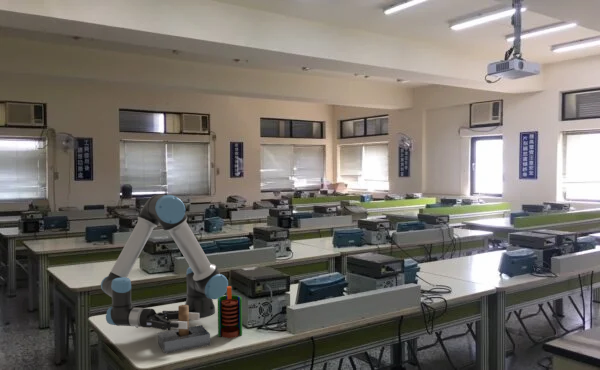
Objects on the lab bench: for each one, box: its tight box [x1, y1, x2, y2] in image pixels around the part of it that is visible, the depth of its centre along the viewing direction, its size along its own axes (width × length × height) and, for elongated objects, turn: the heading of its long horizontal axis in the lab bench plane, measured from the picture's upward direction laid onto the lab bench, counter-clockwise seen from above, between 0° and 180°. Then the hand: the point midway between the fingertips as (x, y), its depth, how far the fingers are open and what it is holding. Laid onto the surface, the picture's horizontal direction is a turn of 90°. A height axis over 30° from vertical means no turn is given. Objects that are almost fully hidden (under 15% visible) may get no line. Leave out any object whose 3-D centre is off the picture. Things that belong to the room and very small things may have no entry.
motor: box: [217, 285, 243, 339], centre depth 206 cm, size 10×9×20 cm
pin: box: [177, 304, 190, 336], centre depth 195 cm, size 4×4×15 cm
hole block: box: [157, 324, 211, 354], centre depth 195 cm, size 18×12×4 cm, turn 117°
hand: (193, 320), depth 194 cm, fingers open, 10 cm apart
